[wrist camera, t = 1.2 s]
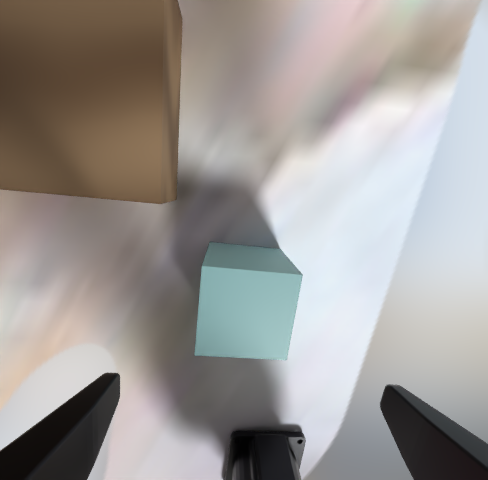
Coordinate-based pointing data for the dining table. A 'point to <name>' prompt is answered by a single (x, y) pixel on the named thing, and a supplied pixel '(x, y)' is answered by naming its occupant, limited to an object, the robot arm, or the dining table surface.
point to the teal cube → (246, 302)
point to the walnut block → (90, 98)
